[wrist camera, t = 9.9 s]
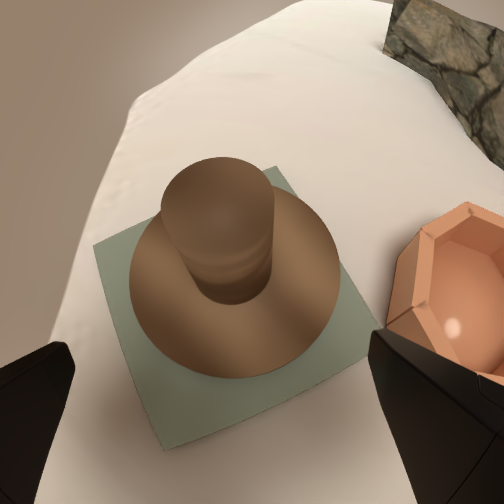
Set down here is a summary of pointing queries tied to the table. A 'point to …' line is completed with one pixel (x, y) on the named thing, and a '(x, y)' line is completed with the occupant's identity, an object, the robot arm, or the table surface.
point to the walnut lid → (233, 272)
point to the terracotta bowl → (454, 290)
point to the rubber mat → (213, 388)
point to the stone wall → (455, 65)
